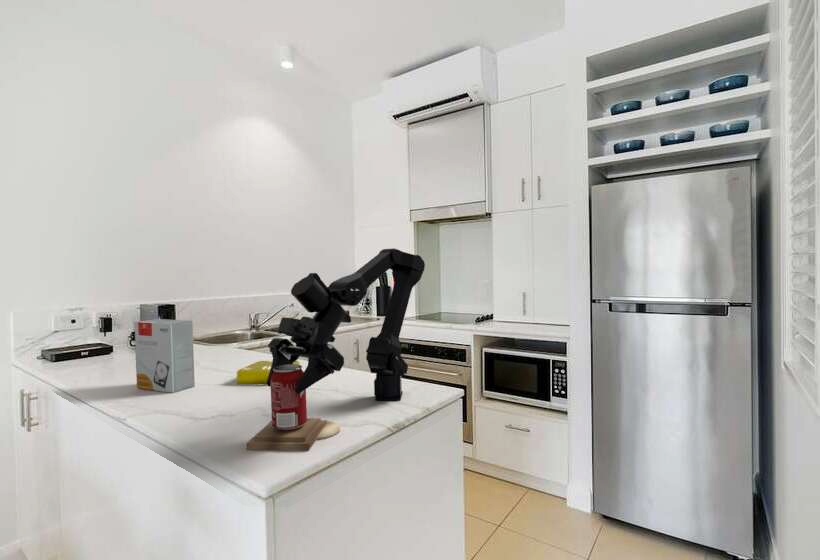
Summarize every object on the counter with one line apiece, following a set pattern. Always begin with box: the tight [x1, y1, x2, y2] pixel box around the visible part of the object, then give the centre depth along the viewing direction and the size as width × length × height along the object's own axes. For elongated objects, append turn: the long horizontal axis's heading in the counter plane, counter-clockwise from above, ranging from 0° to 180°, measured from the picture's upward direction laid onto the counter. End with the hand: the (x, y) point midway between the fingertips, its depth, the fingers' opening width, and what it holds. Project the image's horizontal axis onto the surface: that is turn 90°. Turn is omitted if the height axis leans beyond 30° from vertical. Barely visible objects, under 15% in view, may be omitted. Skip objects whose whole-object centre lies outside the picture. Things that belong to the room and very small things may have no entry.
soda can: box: [270, 364, 308, 431], centre depth 83 cm, size 7×7×12 cm
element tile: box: [236, 360, 300, 385], centre depth 131 cm, size 15×15×5 cm
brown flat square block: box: [245, 417, 328, 451], centre depth 83 cm, size 12×12×2 cm
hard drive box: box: [133, 318, 196, 394], centre depth 123 cm, size 16×8×20 cm, turn 68°
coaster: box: [316, 420, 341, 441], centre depth 86 cm, size 9×9×1 cm
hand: (281, 388), depth 82 cm, fingers open, 9 cm apart
